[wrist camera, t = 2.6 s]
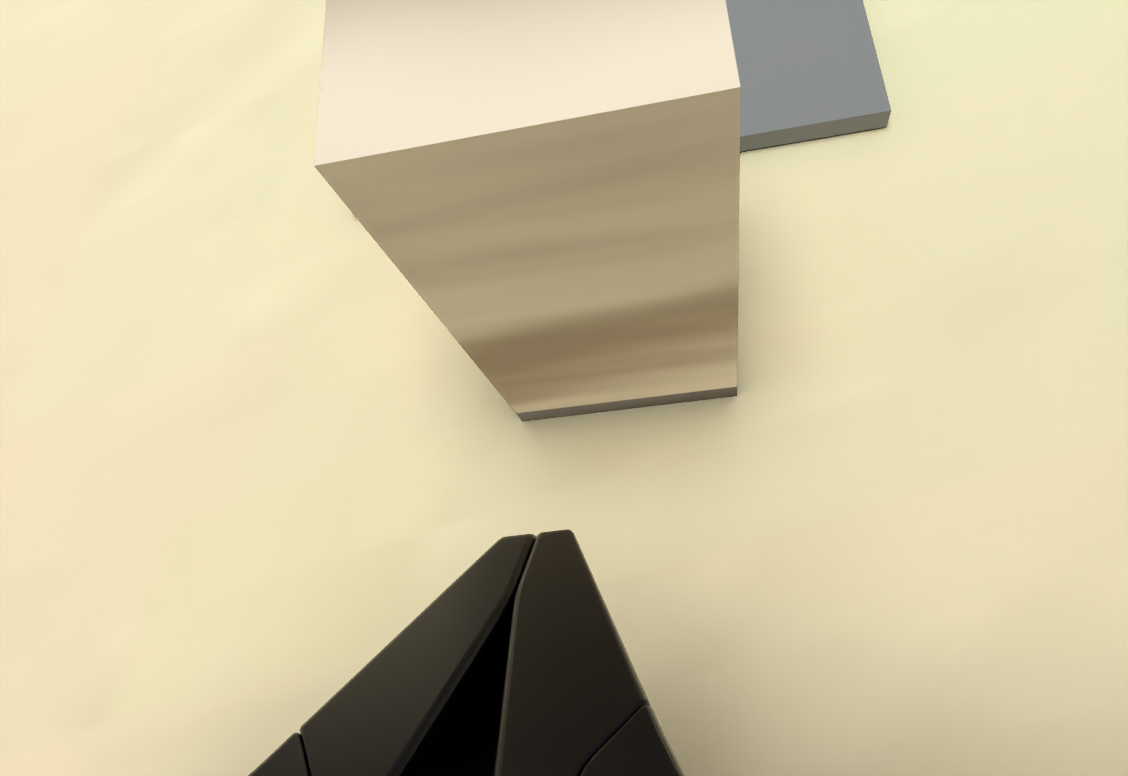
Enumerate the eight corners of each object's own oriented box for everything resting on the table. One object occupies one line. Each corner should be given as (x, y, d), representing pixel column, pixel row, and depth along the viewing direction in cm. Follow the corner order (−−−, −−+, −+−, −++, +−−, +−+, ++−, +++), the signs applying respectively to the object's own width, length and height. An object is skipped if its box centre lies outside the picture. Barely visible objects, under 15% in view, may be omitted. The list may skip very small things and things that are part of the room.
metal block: (736, 395, 18) (741, 87, 8) (522, 421, 18) (313, 165, 9) (709, 208, 19) (688, -215, 10) (515, 239, 20) (335, -125, 11)
